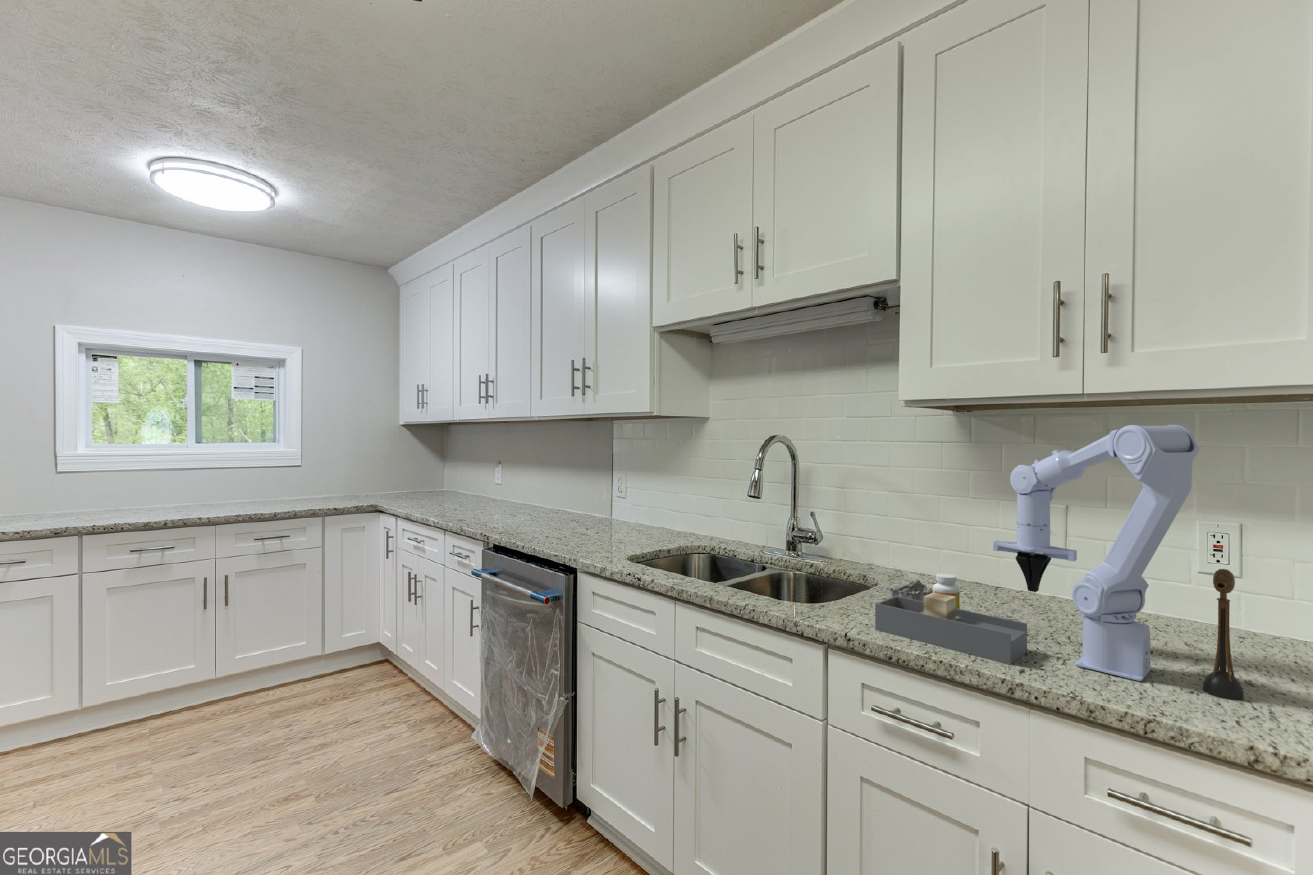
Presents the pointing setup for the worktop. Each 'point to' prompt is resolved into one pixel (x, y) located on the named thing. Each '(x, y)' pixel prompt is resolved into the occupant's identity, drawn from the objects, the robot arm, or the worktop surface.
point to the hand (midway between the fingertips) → (1033, 590)
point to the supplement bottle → (947, 587)
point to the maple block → (940, 606)
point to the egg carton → (911, 591)
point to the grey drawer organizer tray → (954, 629)
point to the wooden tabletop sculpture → (1223, 645)
